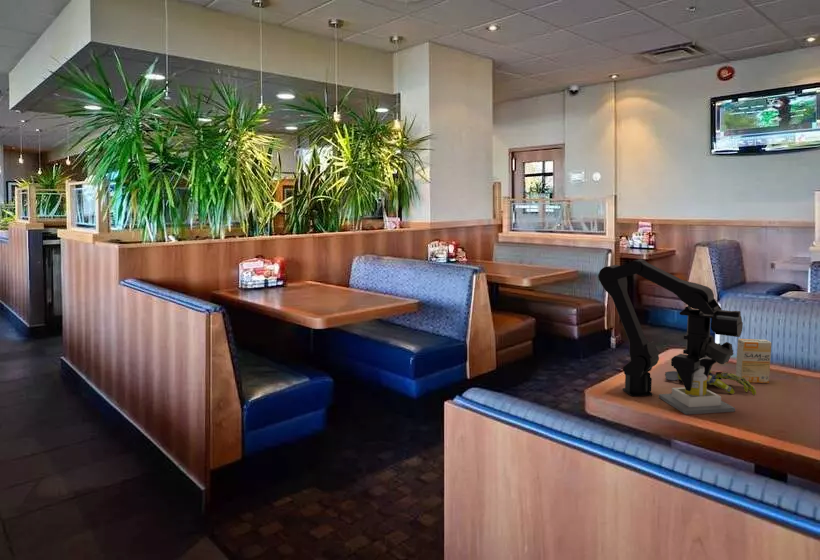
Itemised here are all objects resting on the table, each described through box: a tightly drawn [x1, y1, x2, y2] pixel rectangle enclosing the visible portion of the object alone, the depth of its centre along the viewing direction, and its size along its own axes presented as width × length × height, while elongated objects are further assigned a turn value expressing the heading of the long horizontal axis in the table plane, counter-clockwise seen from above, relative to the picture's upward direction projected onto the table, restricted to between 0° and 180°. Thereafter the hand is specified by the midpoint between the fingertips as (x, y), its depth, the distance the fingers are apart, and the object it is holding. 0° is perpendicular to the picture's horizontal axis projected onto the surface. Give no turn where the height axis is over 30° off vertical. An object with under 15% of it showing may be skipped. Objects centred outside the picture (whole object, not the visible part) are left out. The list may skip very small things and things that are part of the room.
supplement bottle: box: [685, 366, 708, 397], centre depth 166 cm, size 5×5×10 cm
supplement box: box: [735, 338, 772, 384], centre depth 185 cm, size 8×5×13 cm, turn 80°
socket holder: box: [658, 386, 736, 415], centre depth 166 cm, size 14×14×4 cm
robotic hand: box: [664, 369, 757, 396], centre depth 182 cm, size 12×7×25 cm
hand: (696, 387), depth 166 cm, fingers open, 9 cm apart
